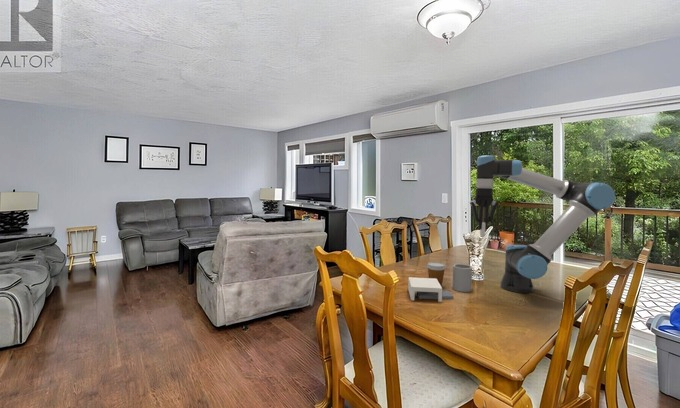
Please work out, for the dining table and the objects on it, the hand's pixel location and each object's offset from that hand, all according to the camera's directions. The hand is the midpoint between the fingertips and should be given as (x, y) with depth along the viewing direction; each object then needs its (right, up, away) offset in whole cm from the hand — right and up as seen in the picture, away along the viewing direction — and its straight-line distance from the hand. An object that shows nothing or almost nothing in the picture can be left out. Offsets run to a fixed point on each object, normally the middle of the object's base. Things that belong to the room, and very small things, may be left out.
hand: (482, 235), depth 157 cm
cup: (-6, -29, +10) cm, 31 cm away
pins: (-33, -29, 0) cm, 44 cm away
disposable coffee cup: (-19, -29, +13) cm, 37 cm away
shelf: (-29, -29, 0) cm, 41 cm away
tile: (-24, -30, -1) cm, 38 cm away
